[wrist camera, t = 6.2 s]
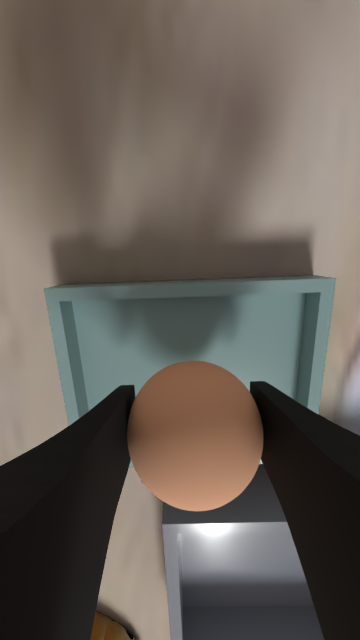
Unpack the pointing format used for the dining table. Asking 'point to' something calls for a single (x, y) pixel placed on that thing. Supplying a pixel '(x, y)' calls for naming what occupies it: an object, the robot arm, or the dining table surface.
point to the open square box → (236, 571)
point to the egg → (195, 435)
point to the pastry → (107, 629)
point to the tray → (191, 333)
